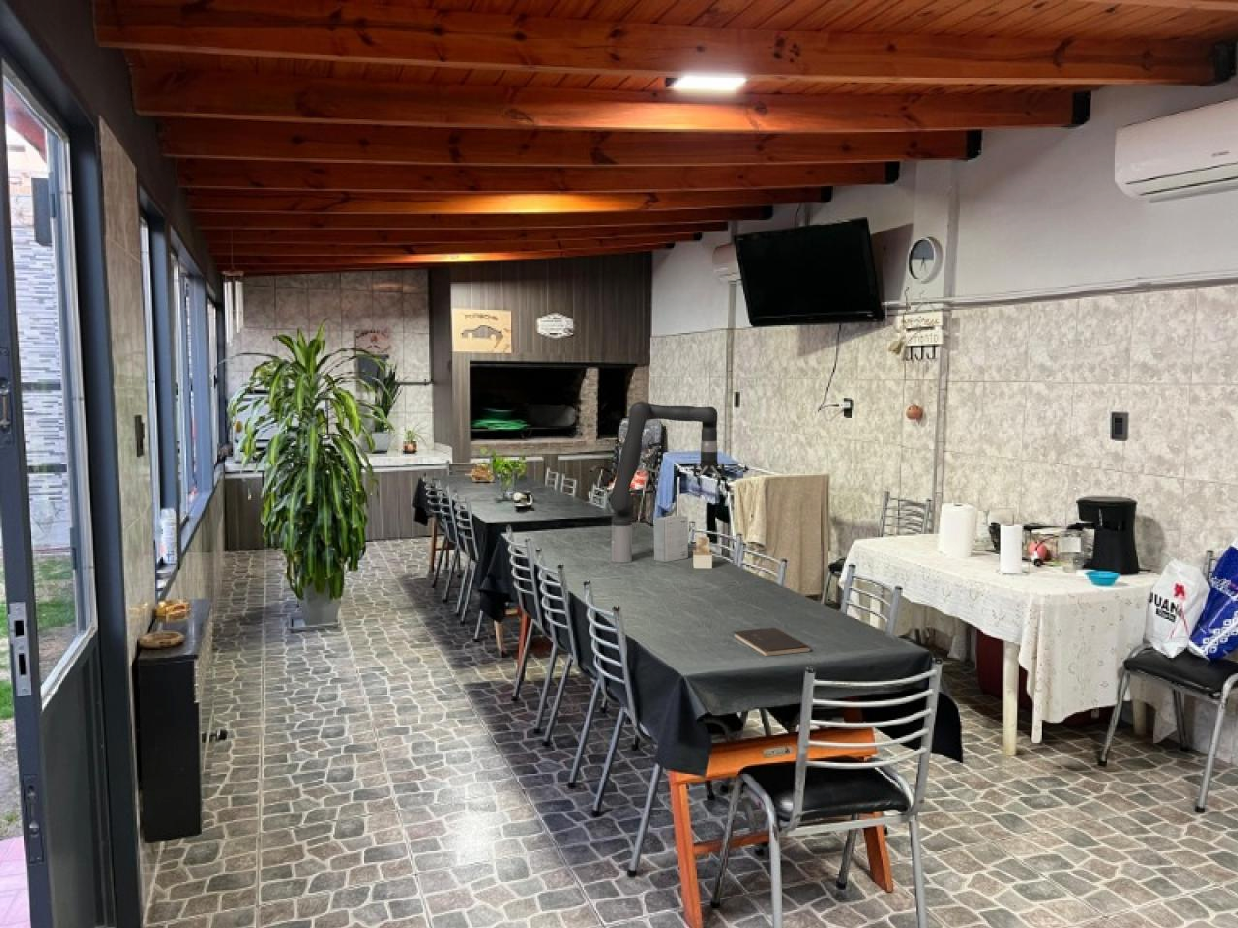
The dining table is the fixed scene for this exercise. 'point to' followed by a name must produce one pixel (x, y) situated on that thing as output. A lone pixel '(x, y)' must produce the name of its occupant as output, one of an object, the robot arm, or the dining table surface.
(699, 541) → the beech block
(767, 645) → the hardcover book
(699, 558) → the tea tin
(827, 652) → the dining table surface
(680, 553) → the hard drive box
